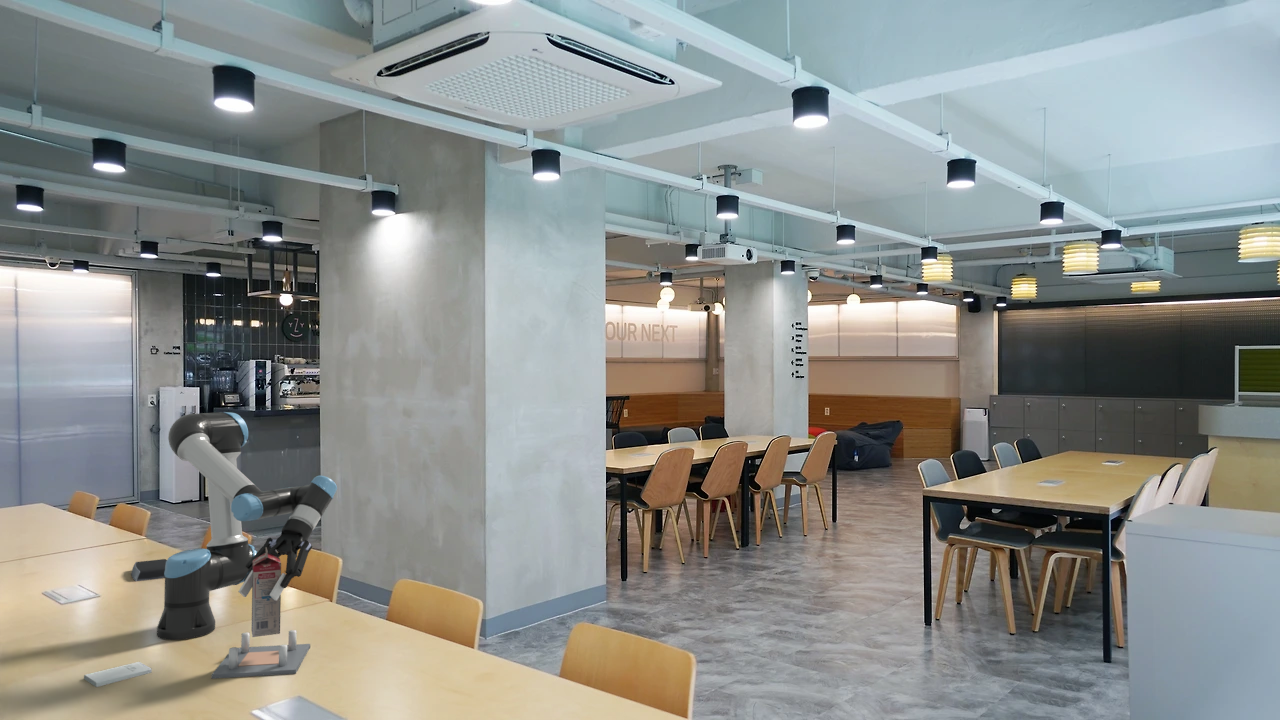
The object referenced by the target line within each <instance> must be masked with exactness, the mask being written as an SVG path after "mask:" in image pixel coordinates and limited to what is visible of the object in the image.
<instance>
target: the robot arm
mask: <svg viewBox="0 0 1280 720" xmlns="http://www.w3.org/2000/svg"><path fill="white" fill-rule="evenodd" d="M167 439H168V443H169V447H170V448H171V450H172V452H173V453H174V454H175V455H176V456H177V458H179V459H180V460H182V461H184V462H189V463H190V464H191V465H192V466H193V467H194V468H195V469H196V470H197V471H198V472H199V473H200V474H201V475H202V476H203V477H204V478H205V479H206V483H207V495H208V506H209V521H210V523H209V524H210V533H211V535H210V536H211V539H210V540H209V541H208V543H207V544H206V548H203V547H202V548H192V549H186V550H182V551H179V552H175V553H174V554H172V555H170V556H169V557H168V558H167V559H166V560H167V561H166V566H165V572H164V575H165V578H164V595H163V596H164V602H163V603H164V605H163V611H162V612H161V616H160V619H159V621H158V623H157V626H156V637H157V638H159V639H161V640H165V641H167V640H168V641H174V640H175V641H179V640H187V639H194V638H199V637H202V636H205V635H208V634H210V633H212V632H213V631H215V630H216V619H215V616H214V614H213V611H212V607H211V605H210V592H212V591H216V590H220V589H222V588H223V589H224V588H226V587H230V586H237V585H239V584H242V585H241V586H240V588H239V590H238V593H239V594H240V595H241V596H242V597H243V598H247V596H248V594H249V593H250V592H251V591H252V590H251V589H252V572H253V560H254V559H256V558H257V557H259V556H261V555H263V554H265V553H266V548H267V552H268V553H269V554H271V555H274V556H277V557H278V558H280V557H281V556H287V557H286V566H285V570H284V572H281V576H280V578H279V580H278V581H277V583H276V585H275V586H274V588H273V590H272V591H271V593H270V596H271V597H272V598H273V599H274V600H276V601H277V600H278V598H279V596H280V595H282V592H283V591H284V589H286V588H287V587H288V586H289V584H290V582H291V580H292V579H293V578H295V577H297V578H300V577H301V576H302V573H303V571H304V568H305V565H306V562H307V558H308V556H309V553H310V551H312V548H313V545H312V544H311V543H310V541H309V538H310V537H311V535H312V533H313V531H314V530H315V528H316V527H317V525H318V523H319V521H320V519H322V517H323V515H324V513H325V512H326V510H327V508H328V507H329V505H330V503H331V501H332V500H333V499H334V496H335V494H336V493H337V490H338V486H337V484H336V482H335V481H334V480H333V479H332V478H330V477H328V476H326V475H317V476H314V477H313V479H312V480H311V481H310V483H309V484H305V485H302V486H287V487H283V488H282V487H281V488H277V489H271V490H265V491H264V490H261V489H260V488H259V487H258V486H257V485H256V484H255V483H253V482H252V480H250V479H249V478H248V477H247V476H246V475H245V474H244V473H243V472H241V470H239V469H238V461H237V458H238V457H239V456H240V455H241V454H242V447H244V446H245V445H246V444H247V442H248V441H247V440H248V439H249V429H248V426H247V423H246V421H245V419H243V418H242V417H241V415H239V414H238V413H235V412H226V411H223V412H222V411H220V412H204V413H203V412H200V413H188V414H184V415H183V416H181V417H179V418H177V419H176V420H175V421H174V422H173V424H172V425H171V427H170V428H169V431H168V437H167ZM288 514H290V516H288V519H287V521H286V522H285V524H284V525H283V527H282V529H281V534H280V535H279V536H278V537H277V538H276V539H272V537H268V538H267V539H266V541H265V542H264V544H263V545H262V547H261V548H260V549H259V550H258V551H257V550H256V548H255V546H254V545H252V544H250V543H249V538H248V537H247V536H244V535H243V529H242V527H243V526H242V522H248V521H249V522H250V521H251V522H252V521H256V520H262V519H266V518H272V517H277V516H282V515H288Z"/></svg>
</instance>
